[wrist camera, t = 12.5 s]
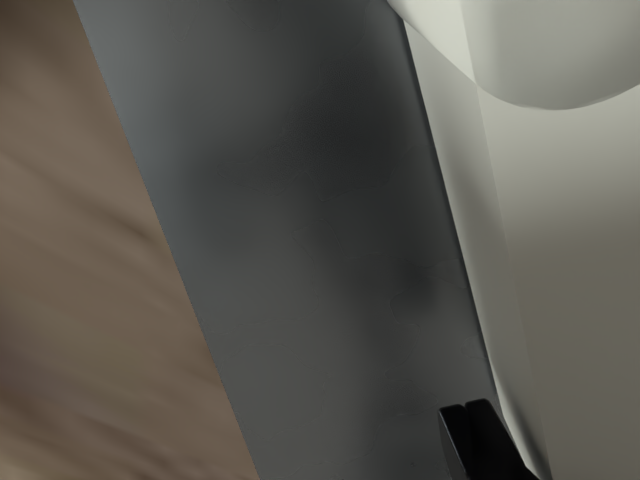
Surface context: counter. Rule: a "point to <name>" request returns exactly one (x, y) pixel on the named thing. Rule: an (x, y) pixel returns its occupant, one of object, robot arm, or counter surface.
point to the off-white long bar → (545, 211)
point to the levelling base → (303, 223)
